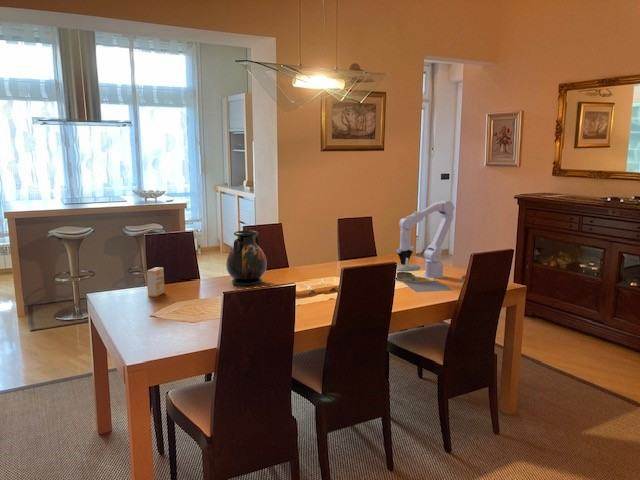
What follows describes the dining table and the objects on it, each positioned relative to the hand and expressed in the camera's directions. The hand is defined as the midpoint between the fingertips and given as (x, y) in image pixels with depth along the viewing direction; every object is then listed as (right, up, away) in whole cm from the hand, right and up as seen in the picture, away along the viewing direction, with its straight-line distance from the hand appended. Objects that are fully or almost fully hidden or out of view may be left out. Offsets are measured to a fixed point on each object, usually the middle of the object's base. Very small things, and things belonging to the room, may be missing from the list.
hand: (404, 264), depth 285 cm
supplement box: (-128, -14, -32) cm, 133 cm away
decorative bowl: (0, -9, +1) cm, 9 cm away
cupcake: (+31, -12, -17) cm, 37 cm away
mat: (+9, -11, -16) cm, 22 cm away
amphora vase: (-86, -10, -10) cm, 88 cm away
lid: (0, -2, 0) cm, 3 cm away
